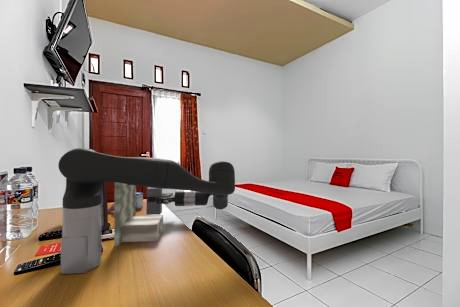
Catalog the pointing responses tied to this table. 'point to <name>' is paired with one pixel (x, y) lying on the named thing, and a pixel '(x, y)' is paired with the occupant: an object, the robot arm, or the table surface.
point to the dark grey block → (154, 207)
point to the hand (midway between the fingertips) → (148, 198)
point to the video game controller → (112, 209)
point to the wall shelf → (133, 218)
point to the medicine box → (139, 200)
